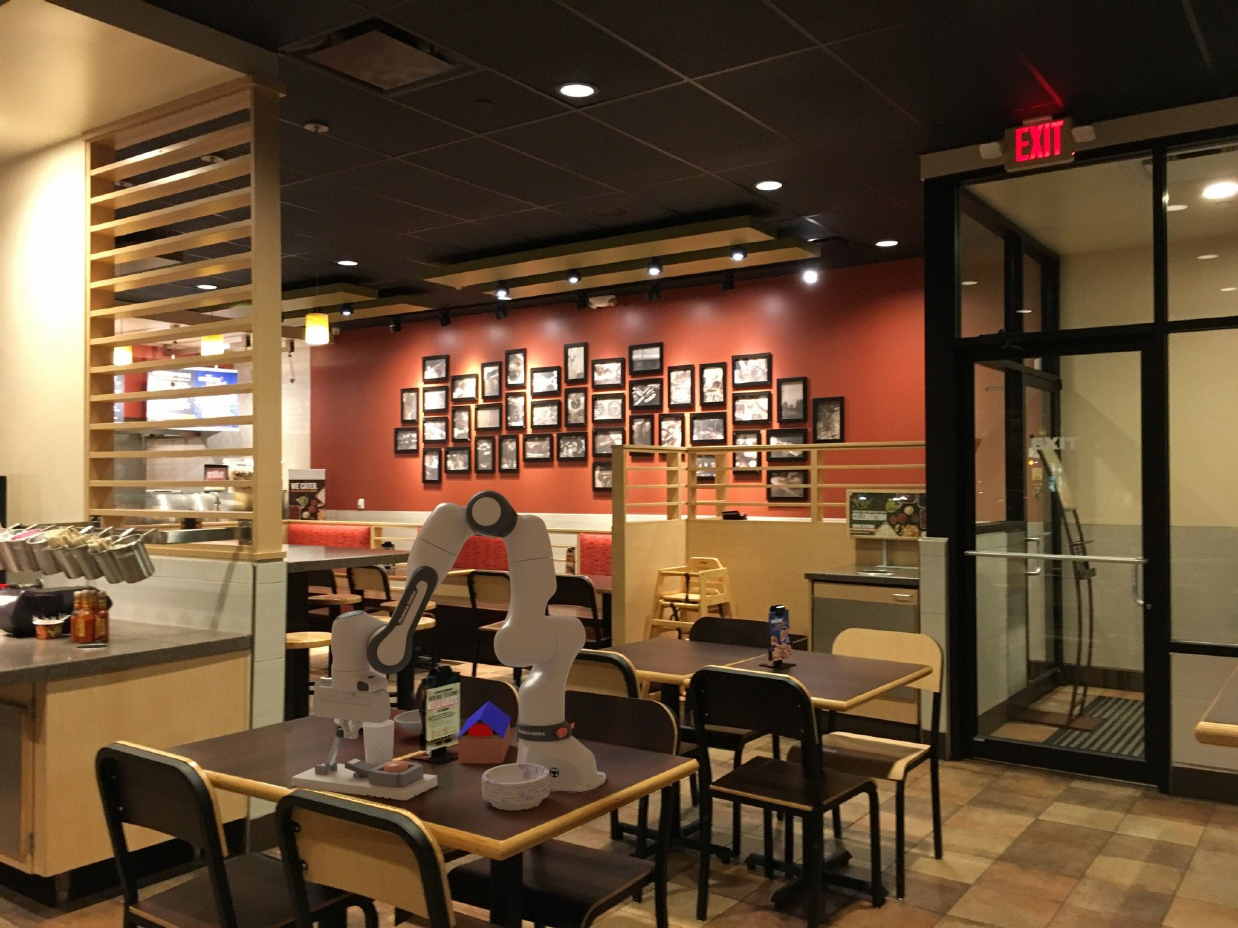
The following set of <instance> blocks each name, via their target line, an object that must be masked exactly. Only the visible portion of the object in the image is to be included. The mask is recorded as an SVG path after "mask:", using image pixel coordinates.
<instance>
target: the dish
mask: <svg viewBox="0 0 1238 928" xmlns="http://www.w3.org/2000/svg"><path fill="white" fill-rule="evenodd" d="M393 721H394V723H397V724H398V725H399V726H400V727H401V728H402V729H404V730H406V731H409V732H413V733H420V734H421V729H422V723H421V717H420V716H419V709H413V710H409V711H405V712H401V713H399V714H397V715H395V716H393Z"/></svg>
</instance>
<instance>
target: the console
mask: <svg viewBox="0 0 1238 928" xmlns="http://www.w3.org/2000/svg"><path fill="white" fill-rule="evenodd" d="M388 762H390V761H388ZM407 762H408V769H407V770H405V771H403V772H401V773H396V772H388V771H384V764H385V763H387V762H385V763H383V764H381V765H376V766H377V767H375V768H373V769H371V770H369V775H368V776H364V775H362V774H359V773H357V772H354V771H351V770H349V769H346V768H344V767H345V763H338V761H337V760H335V761H334V763H333V766H332V769H331V770H329V771H328V765H325V763H326V760H324V763H322V764H320V763H319V764H318V763H317V764H315V765H314V767H312V768H310V769H309V768H308V769H307V770H305V771H303V772H300V773H298V774H296V775H294V776H291V777H290V778H291V780H290V781H291V784H290V785H291V787H294V786H297V787H296V788H302V789H303V788H304V789H310V788H311V790H318V791H326V790H327V791H328V792H334V793H335V792H336V793H343V794H350V795H351V794H352V795H358V794H359V795H360V796H366V795H370V796H369V797H374V796H376V798H381V797H384V798H383V799H389V798H391V799H392V800H398V801H399V800H400V801H405V800H406V801H408V800H410V799H412V798H415V797H416V796H418V795H421V794H422V792H423V793H424V792H427V791H429V790H430V788H431V789H432V788H435V787H437V786H438V775H436V774H435V775H434V774H428V773H424V765H423V764H420V763H419V762H410V761H407ZM321 789H322V790H321ZM428 789H429V790H428ZM420 793H421V794H420ZM371 795H372V796H371ZM415 795H416V796H415Z"/></svg>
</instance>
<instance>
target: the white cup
mask: <svg viewBox="0 0 1238 928" xmlns="http://www.w3.org/2000/svg"><path fill="white" fill-rule="evenodd" d="M362 729H363V744H364V754H365V756H364V757H365V762H367V763H369V764H372V765H375V766H379V765H381V764H383V763H385V762H388V761H394V759H393V758H394V752H393V751H394V741H395V721H394V720H392V719H389V720H387V721H385V722H382V723H372V722H365V723H363V728H362Z"/></svg>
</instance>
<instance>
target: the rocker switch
mask: <svg viewBox="0 0 1238 928" xmlns="http://www.w3.org/2000/svg"><path fill="white" fill-rule="evenodd" d="M344 764H345V767H344V768H346V769H349V770H351V771H354V772H357V773H359V774H362V775H364V776H368V775H369V770H371V769H373V768H375V767H377V766H378V765H372V764H369V763H367V762H366V761H364V760H361V759H358V758H353V759H351V760H348V761H347V762H345V763H344Z"/></svg>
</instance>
